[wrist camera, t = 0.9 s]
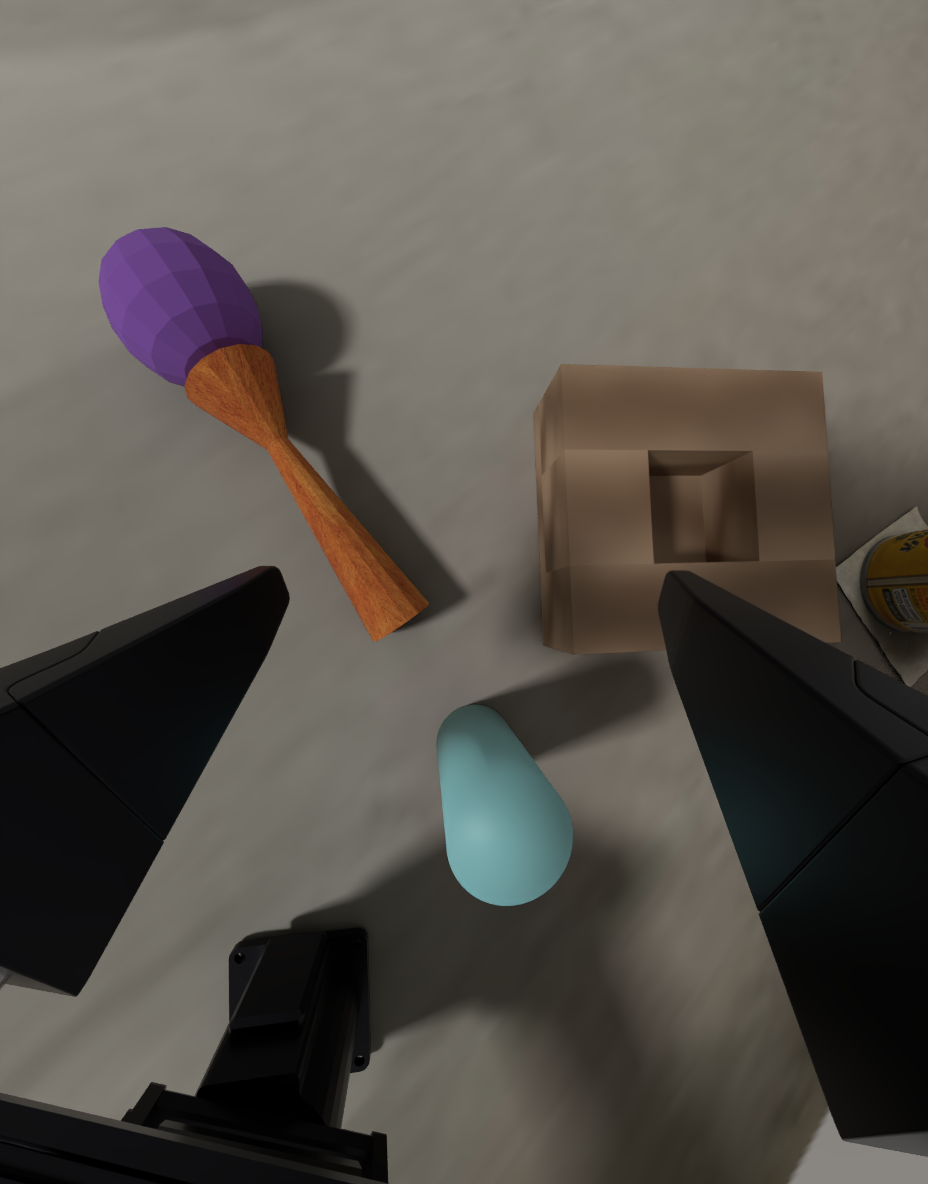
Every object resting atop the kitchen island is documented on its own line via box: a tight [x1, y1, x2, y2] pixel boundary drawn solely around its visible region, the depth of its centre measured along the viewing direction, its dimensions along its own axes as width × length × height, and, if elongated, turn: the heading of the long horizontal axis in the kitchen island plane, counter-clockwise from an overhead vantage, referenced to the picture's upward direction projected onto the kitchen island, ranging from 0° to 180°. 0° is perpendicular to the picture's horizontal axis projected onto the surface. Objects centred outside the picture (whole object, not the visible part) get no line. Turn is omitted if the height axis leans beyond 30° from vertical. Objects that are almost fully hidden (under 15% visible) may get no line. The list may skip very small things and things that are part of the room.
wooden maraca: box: [99, 227, 429, 642], centre depth 19 cm, size 6×6×20 cm
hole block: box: [534, 364, 841, 655], centre depth 21 cm, size 13×13×4 cm
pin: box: [437, 704, 573, 906], centre depth 17 cm, size 4×4×9 cm
